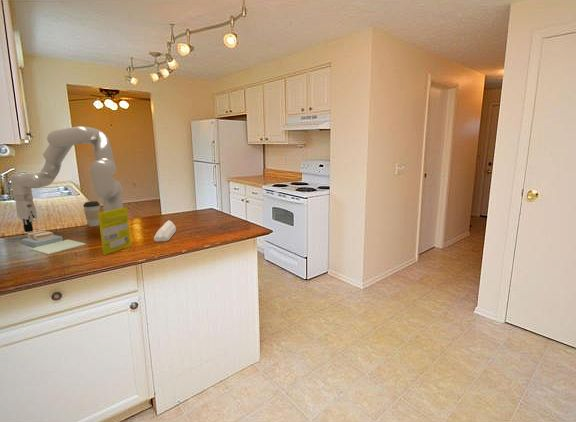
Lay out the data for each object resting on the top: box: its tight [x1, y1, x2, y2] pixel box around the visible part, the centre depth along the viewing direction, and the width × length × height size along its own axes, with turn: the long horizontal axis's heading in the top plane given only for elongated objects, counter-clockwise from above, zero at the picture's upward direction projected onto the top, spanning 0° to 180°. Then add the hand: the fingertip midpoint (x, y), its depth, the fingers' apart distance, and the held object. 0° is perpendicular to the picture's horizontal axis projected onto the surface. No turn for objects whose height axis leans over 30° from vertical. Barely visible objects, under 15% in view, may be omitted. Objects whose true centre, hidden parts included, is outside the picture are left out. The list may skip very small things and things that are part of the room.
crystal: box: [153, 219, 177, 243], centre depth 171 cm, size 7×7×24 cm
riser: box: [21, 234, 64, 248], centre depth 159 cm, size 14×12×2 cm
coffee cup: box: [83, 200, 101, 227], centre depth 195 cm, size 9×9×15 cm
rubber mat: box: [30, 239, 87, 255], centre depth 153 cm, size 16×17×1 cm
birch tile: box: [27, 230, 55, 241], centre depth 159 cm, size 10×7×2 cm
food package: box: [98, 206, 132, 256], centre depth 146 cm, size 15×1×20 cm, turn 159°
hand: (28, 231), depth 164 cm, fingers closed
